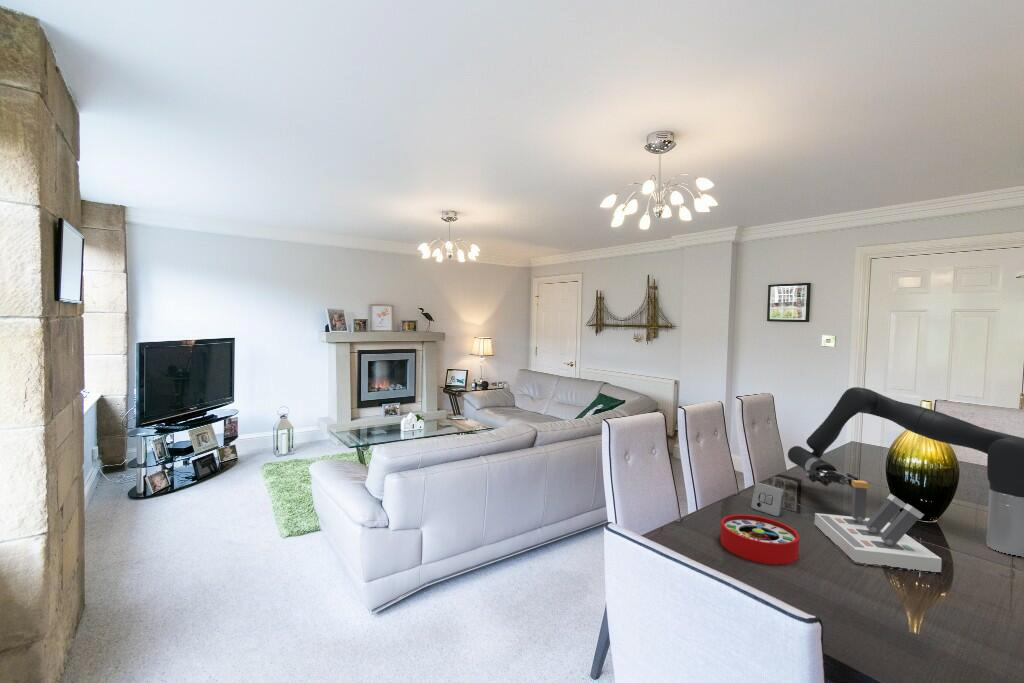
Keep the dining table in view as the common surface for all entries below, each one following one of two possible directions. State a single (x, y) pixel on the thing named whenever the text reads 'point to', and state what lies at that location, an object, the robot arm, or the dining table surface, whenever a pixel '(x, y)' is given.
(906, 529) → the lever
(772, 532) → the toy clock
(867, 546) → the panel
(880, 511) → the breaker mid
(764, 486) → the electrical switch
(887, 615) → the dining table surface
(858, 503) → the lever
